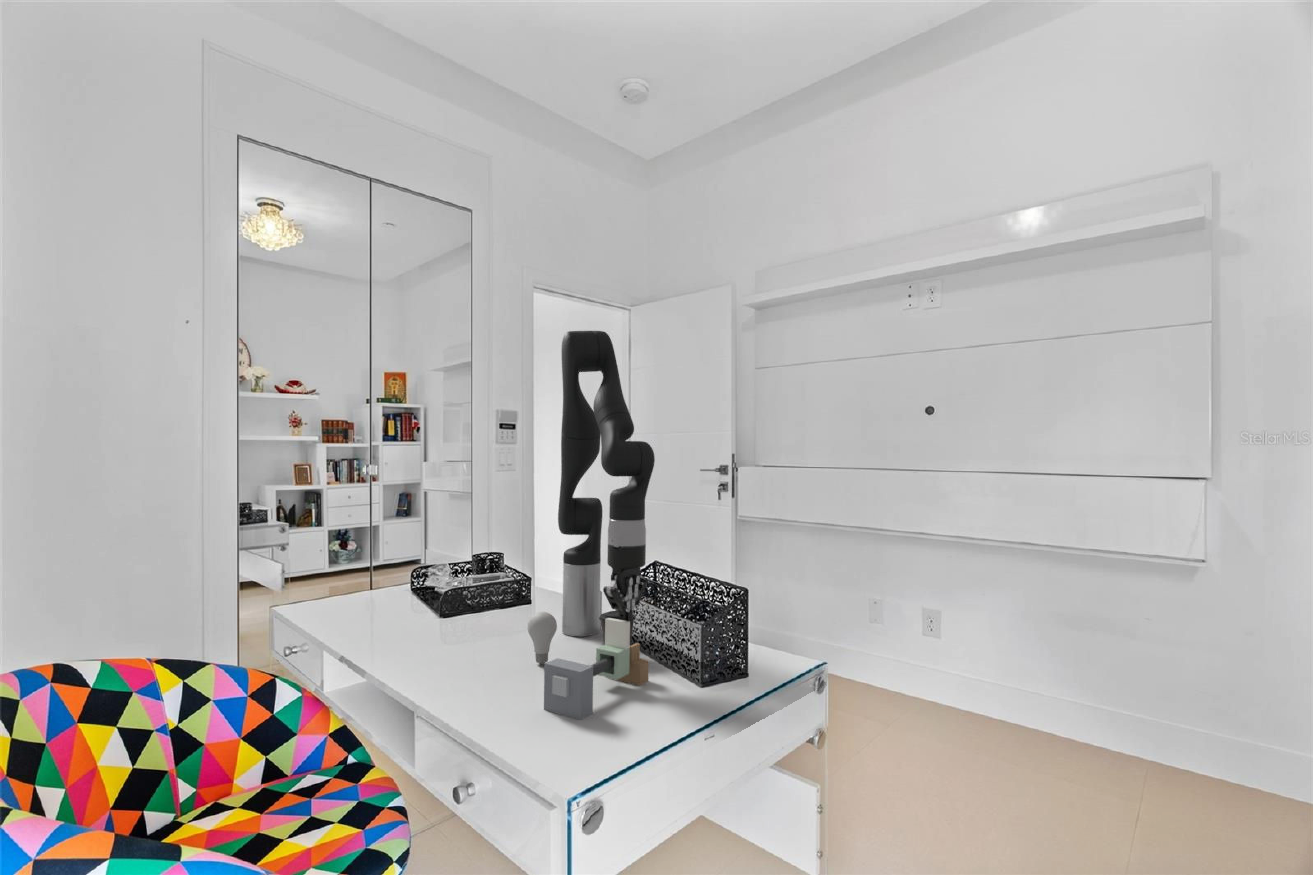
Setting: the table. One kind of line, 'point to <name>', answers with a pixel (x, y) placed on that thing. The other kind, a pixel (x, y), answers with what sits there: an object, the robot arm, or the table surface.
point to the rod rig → (584, 682)
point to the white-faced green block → (616, 648)
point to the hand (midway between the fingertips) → (625, 629)
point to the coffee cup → (615, 616)
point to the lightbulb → (542, 634)
